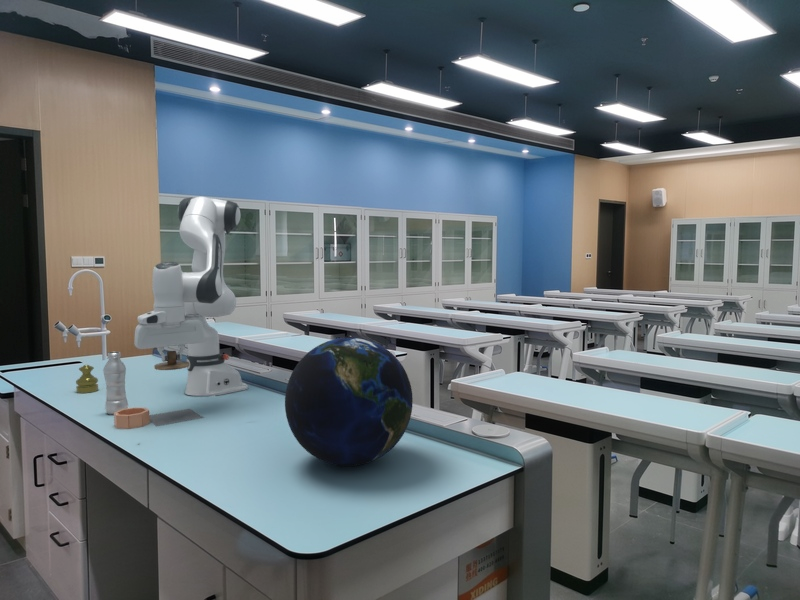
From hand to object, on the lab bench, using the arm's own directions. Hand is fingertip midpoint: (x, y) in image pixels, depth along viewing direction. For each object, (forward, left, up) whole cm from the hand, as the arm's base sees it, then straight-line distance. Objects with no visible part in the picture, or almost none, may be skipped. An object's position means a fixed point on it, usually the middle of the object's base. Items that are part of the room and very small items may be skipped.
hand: (171, 360), depth 176 cm
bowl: (+12, 0, -18) cm, 22 cm away
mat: (0, 0, -18) cm, 18 cm away
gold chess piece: (+14, -61, -19) cm, 65 cm away
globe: (-21, +67, -18) cm, 73 cm away
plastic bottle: (+13, -17, -18) cm, 28 cm away
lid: (0, 0, -2) cm, 2 cm away
